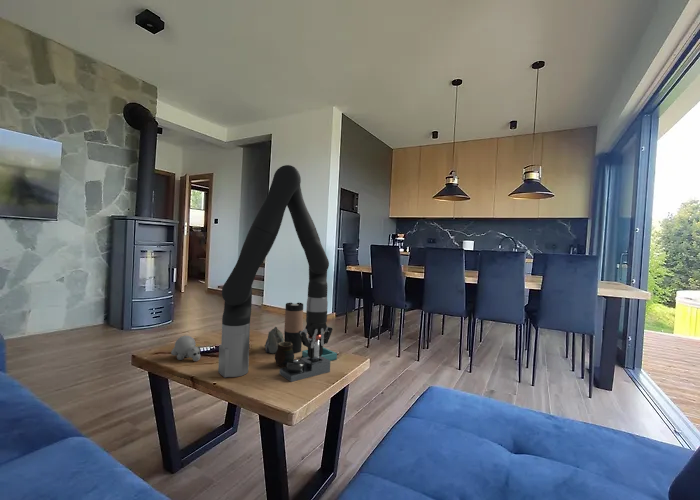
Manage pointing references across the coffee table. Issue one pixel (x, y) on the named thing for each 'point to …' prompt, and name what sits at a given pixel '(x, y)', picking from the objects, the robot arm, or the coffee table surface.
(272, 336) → the mineral rock
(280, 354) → the mate gourd
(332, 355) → the tray
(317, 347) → the lock pin
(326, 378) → the coffee table surface
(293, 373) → the block
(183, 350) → the chubby cartoon animal
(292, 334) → the travel mug
